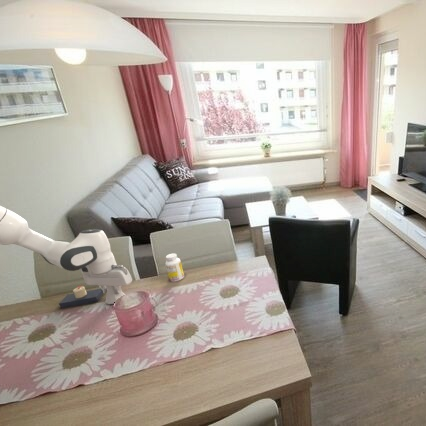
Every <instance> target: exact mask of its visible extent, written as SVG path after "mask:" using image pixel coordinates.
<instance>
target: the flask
mask: <svg viewBox="0 0 426 426" xmlns="http://www.w3.org/2000/svg"><path fill="white" fill-rule="evenodd" d="M106 287H107V293H105V294H106V295H105V302H104V303H105V304H108V305H114V304H115V303H114V302H115V301H116V300H117V299H118V298H120V297H121V296H123V295H125V296H126V293H124V292H123V291H122V293H120V294H116V292H115V291H116V290H117V288H116V286H106Z"/></svg>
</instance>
